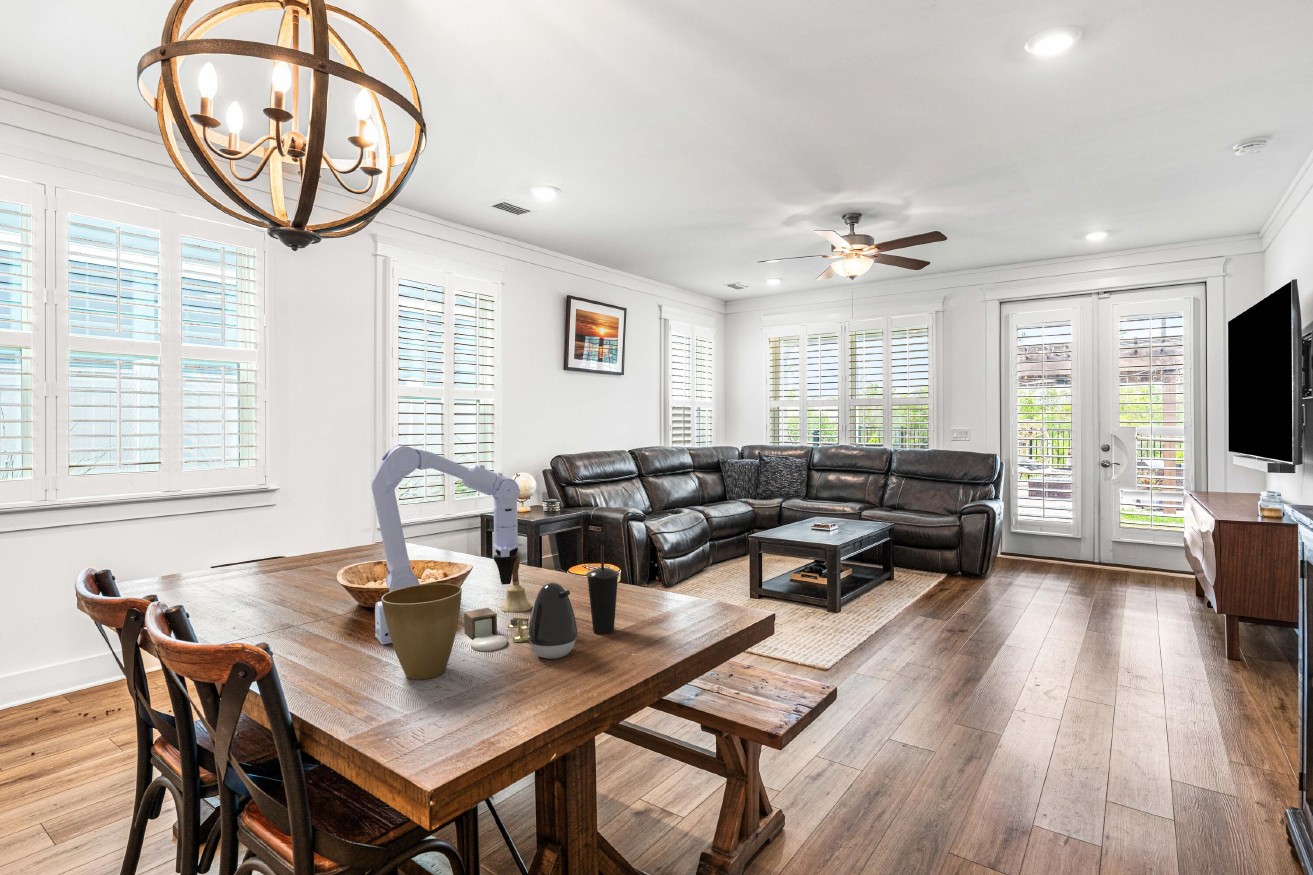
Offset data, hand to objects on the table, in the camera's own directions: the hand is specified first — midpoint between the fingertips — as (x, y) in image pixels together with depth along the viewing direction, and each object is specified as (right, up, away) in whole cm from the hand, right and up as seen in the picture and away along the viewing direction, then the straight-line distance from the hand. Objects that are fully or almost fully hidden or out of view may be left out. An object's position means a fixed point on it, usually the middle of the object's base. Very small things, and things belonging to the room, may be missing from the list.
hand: (506, 580), depth 162 cm
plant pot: (-9, -11, -34) cm, 37 cm away
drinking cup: (+25, -10, -10) cm, 29 cm away
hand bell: (0, -10, +11) cm, 15 cm away
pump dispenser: (+16, -10, -25) cm, 31 cm away
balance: (+7, -10, -15) cm, 19 cm away
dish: (0, -10, -18) cm, 21 cm away
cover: (-4, -10, -11) cm, 15 cm away
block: (-4, -10, -11) cm, 15 cm away
